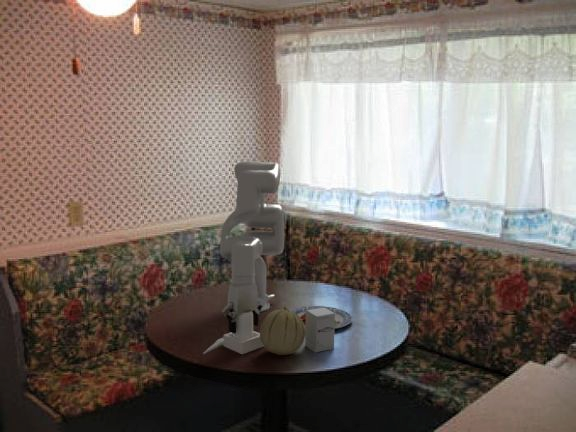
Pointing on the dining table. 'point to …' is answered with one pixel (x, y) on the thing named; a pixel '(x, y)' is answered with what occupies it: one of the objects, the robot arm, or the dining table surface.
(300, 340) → the cantaloupe
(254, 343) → the can holder
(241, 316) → the can
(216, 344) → the white long tapered piece
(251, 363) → the dining table surface
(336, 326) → the ceramic plate
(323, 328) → the supplement box
